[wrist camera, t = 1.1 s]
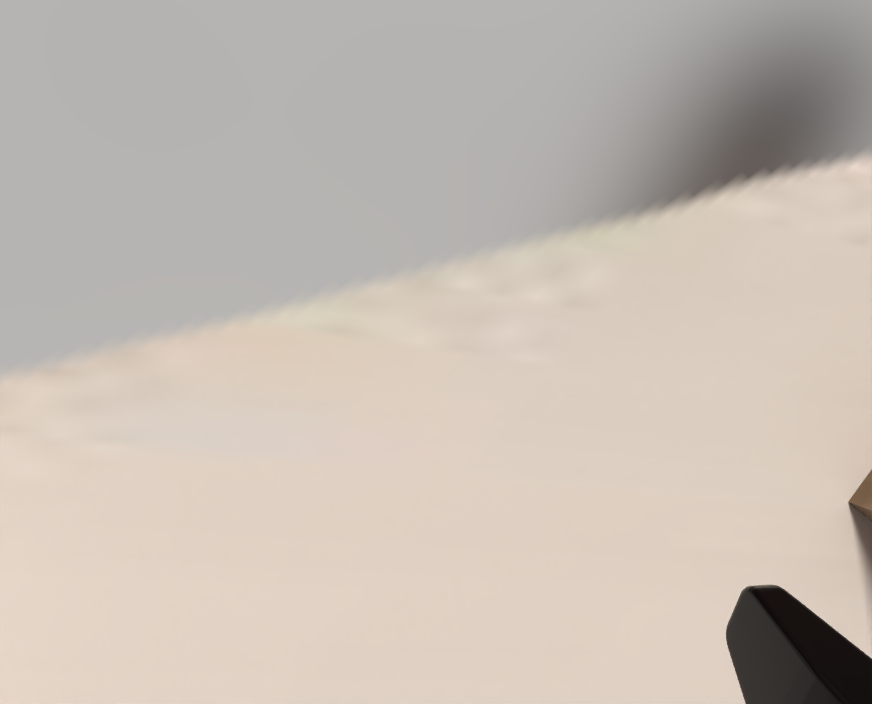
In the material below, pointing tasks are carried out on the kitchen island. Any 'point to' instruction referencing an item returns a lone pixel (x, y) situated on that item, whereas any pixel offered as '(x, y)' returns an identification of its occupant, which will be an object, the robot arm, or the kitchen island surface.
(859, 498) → the walnut block
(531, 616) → the kitchen island surface
